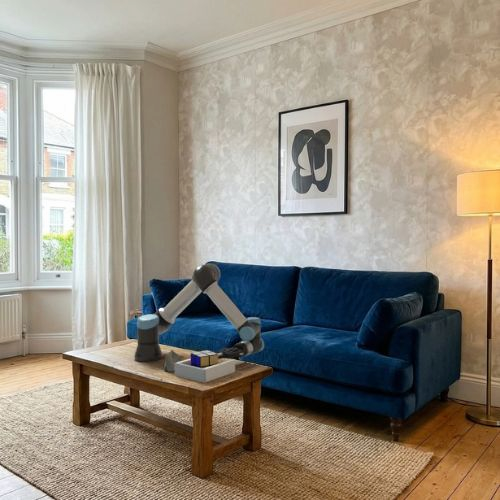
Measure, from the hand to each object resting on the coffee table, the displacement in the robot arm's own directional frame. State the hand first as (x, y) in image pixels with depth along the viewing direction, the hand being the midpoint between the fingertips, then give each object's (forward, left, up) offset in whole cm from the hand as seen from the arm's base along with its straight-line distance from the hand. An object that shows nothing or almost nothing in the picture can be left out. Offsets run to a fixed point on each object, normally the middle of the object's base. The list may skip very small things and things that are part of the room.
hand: (212, 358), depth 244 cm
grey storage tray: (+4, -4, -6) cm, 9 cm away
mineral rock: (-7, -20, -7) cm, 22 cm away
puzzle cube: (+3, -4, -7) cm, 9 cm away
